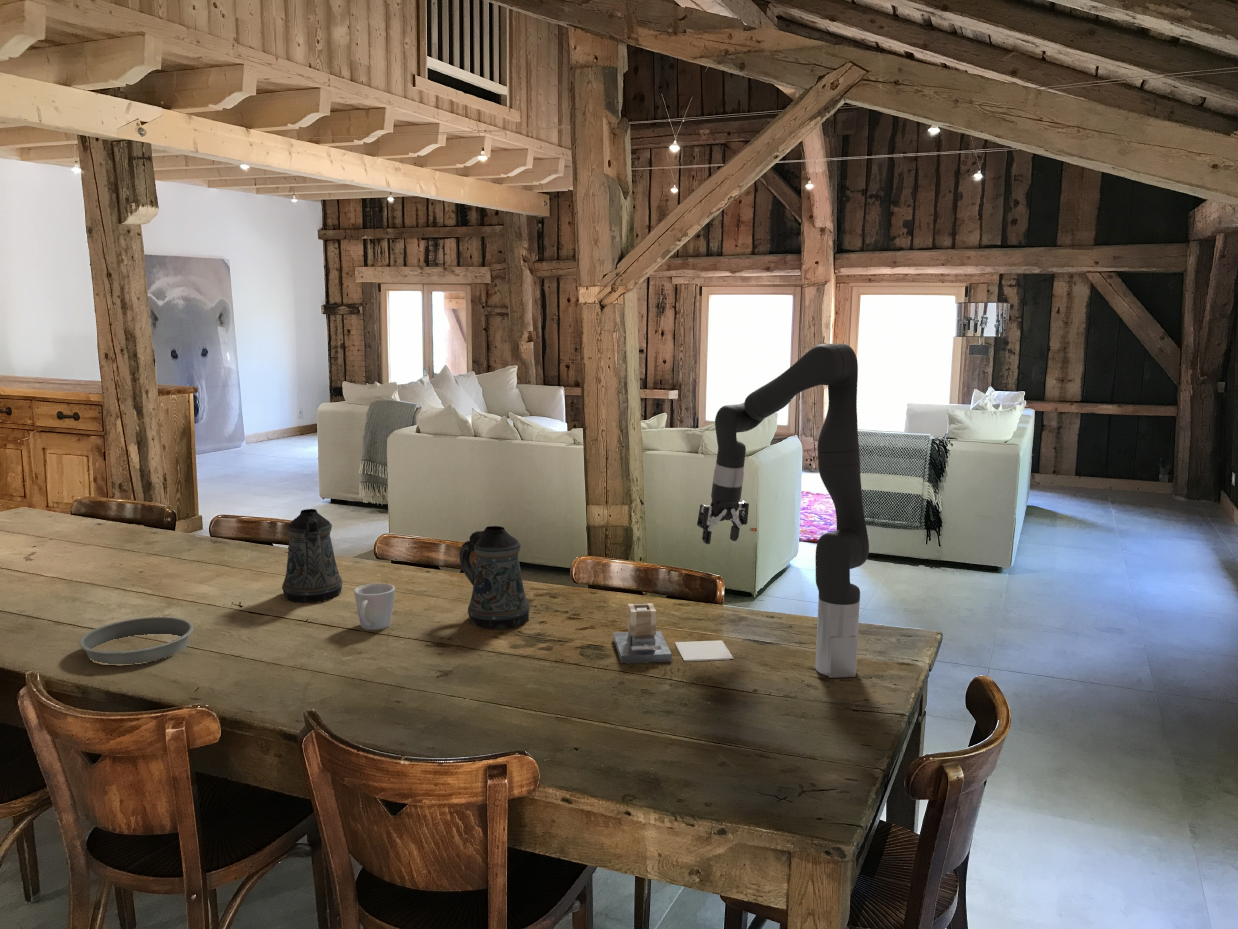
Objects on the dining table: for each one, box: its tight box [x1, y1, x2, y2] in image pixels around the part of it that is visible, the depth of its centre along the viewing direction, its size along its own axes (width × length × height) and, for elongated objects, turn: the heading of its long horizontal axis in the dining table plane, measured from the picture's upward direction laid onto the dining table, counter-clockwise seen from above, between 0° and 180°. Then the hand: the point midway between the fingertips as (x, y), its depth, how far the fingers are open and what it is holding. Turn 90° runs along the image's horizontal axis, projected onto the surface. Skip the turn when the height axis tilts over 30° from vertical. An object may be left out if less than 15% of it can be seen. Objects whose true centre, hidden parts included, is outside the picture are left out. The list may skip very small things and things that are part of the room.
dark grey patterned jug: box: [281, 508, 343, 604], centre depth 268 cm, size 16×19×25 cm
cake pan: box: [78, 616, 194, 664], centre depth 227 cm, size 25×25×4 cm
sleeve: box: [627, 602, 657, 636], centre depth 228 cm, size 6×6×6 cm
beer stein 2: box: [459, 525, 531, 630], centre depth 249 cm, size 16×19×25 cm
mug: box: [353, 582, 396, 631], centre depth 243 cm, size 10×15×10 cm
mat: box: [674, 639, 734, 662], centre depth 229 cm, size 12×12×1 cm
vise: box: [612, 608, 673, 664], centre depth 228 cm, size 16×12×10 cm
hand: (720, 541), depth 242 cm, fingers open, 8 cm apart
